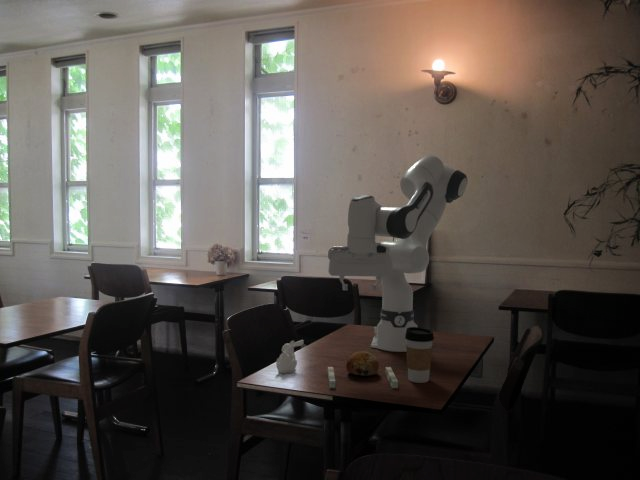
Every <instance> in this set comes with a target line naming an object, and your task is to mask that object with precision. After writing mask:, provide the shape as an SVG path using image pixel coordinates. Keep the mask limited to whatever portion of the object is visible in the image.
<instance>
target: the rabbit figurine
mask: <svg viewBox="0 0 640 480" xmlns="http://www.w3.org/2000/svg"><path fill="white" fill-rule="evenodd" d="M304 341H305V339H301V340H298V341H295V340H291V341H290V342H289V343H284V345H282V347H281V354H279V357H278V358H276V364H275V365H276V368H277V372H278V373H280V374H283V375H284V374H285V375H286V374H292V373H294V372H296V370H297V369H296V368H297V365H298V361H297V359H296V355H295V349H294V348H296V347H301V346H303V345H304Z"/></svg>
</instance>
